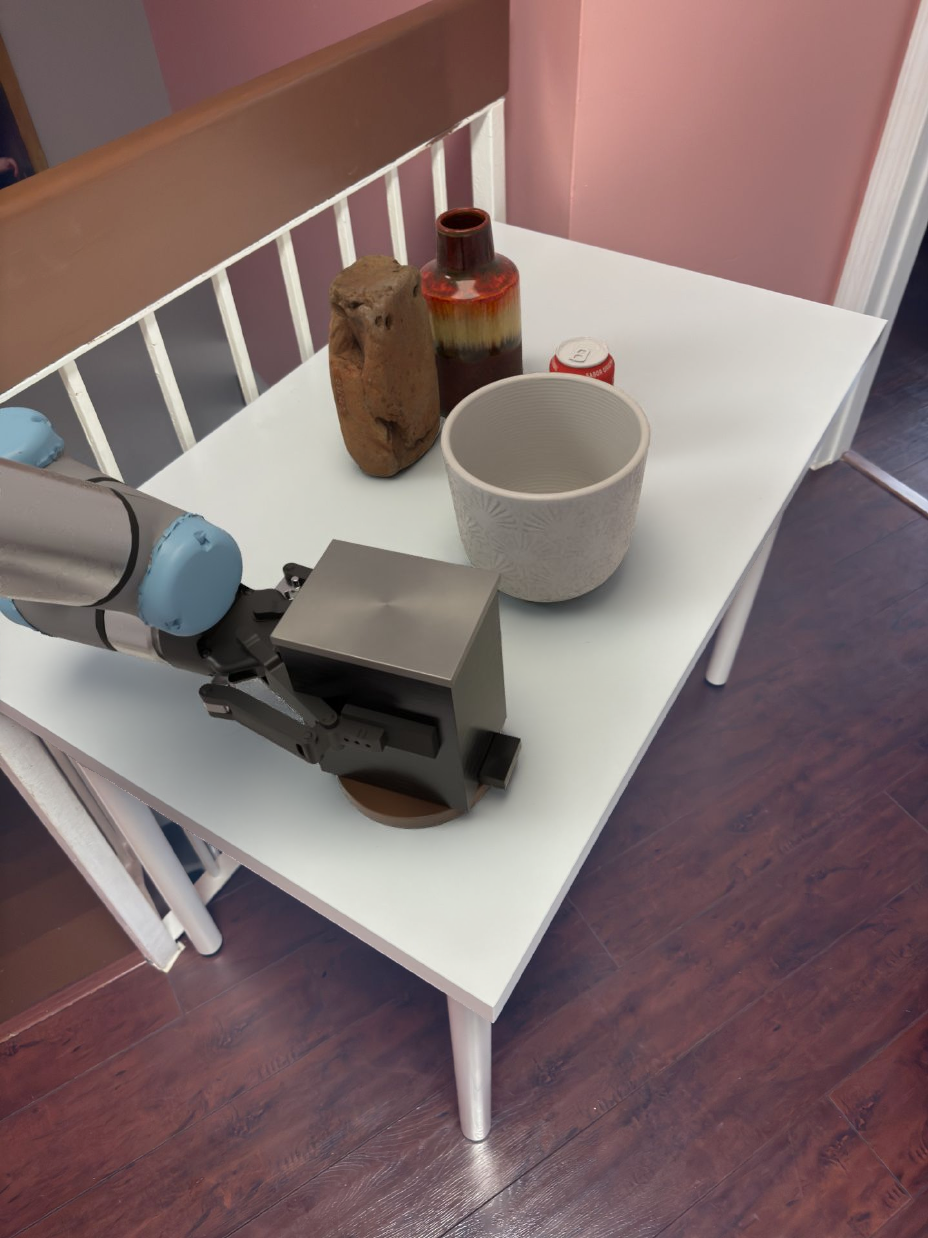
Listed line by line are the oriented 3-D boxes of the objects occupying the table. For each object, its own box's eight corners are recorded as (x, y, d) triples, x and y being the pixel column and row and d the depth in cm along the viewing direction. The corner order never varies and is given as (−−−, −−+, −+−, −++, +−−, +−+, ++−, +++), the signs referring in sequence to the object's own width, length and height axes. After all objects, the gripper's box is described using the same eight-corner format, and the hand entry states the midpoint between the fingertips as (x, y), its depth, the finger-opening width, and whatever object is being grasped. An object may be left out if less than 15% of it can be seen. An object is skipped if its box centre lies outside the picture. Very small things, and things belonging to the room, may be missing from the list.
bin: (493, 823, 66) (479, 687, 54) (317, 772, 70) (269, 636, 58) (532, 720, 71) (527, 577, 60) (367, 679, 75) (332, 538, 64)
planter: (661, 526, 87) (676, 391, 76) (602, 653, 77) (610, 520, 66) (499, 488, 93) (490, 356, 82) (425, 601, 83) (404, 470, 72)
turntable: (370, 856, 66) (367, 846, 65) (314, 726, 75) (310, 716, 73) (529, 785, 69) (528, 774, 68) (458, 668, 78) (456, 657, 76)
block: (393, 415, 103) (366, 243, 88) (450, 432, 100) (432, 256, 85) (339, 471, 97) (299, 296, 82) (398, 490, 94) (369, 313, 79)
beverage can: (564, 428, 99) (564, 328, 90) (619, 441, 97) (625, 340, 88) (540, 461, 95) (538, 361, 86) (596, 476, 93) (600, 374, 84)
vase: (434, 369, 108) (414, 196, 93) (525, 367, 107) (520, 191, 92) (424, 423, 101) (401, 246, 86) (521, 422, 100) (515, 242, 85)
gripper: (264, 557, 79) (512, 611, 72) (120, 762, 65) (407, 850, 59) (242, 490, 73) (508, 542, 67) (79, 699, 60) (392, 788, 53)
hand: (461, 687), depth 63 cm, fingers closed on bin, 9 cm apart
